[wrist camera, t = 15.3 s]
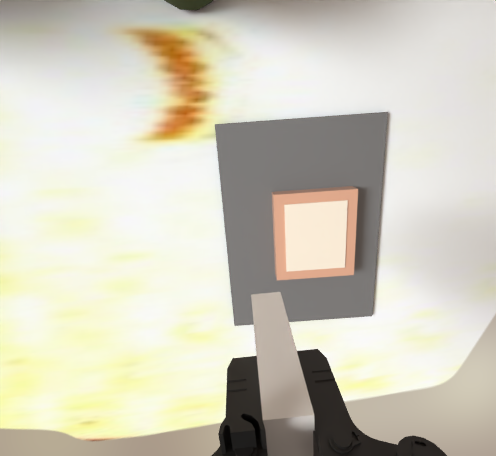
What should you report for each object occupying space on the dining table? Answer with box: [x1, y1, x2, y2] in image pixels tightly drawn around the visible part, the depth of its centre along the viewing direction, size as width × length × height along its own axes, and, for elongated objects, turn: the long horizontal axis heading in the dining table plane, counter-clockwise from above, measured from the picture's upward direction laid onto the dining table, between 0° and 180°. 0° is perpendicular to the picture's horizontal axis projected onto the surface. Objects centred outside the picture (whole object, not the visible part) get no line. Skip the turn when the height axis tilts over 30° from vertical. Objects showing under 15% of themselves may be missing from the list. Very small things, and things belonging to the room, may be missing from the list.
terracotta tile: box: [272, 186, 358, 280], centre depth 29 cm, size 9×2×8 cm
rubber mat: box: [215, 112, 388, 326], centre depth 30 cm, size 22×16×1 cm
